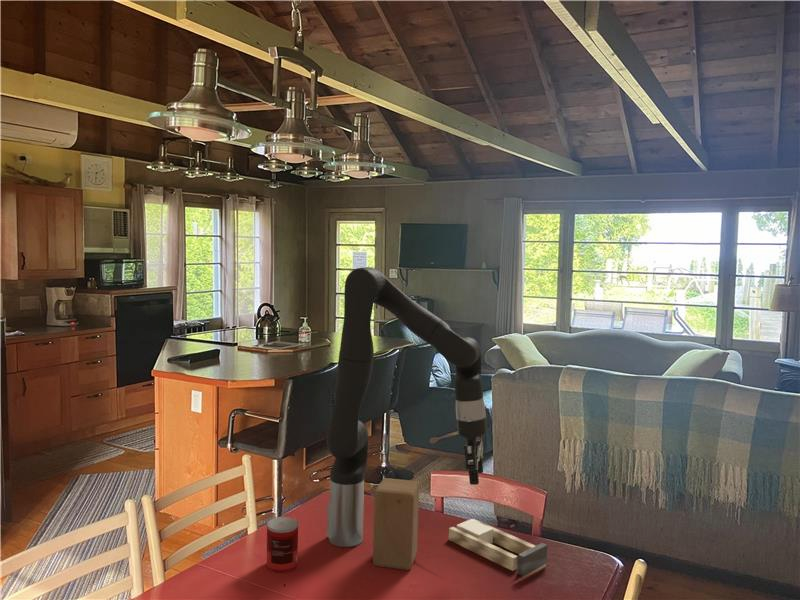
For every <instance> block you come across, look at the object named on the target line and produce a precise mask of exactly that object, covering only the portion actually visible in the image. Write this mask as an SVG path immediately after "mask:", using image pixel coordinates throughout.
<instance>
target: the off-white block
mask: <svg viewBox="0 0 800 600" xmlns="http://www.w3.org/2000/svg"><path fill="white" fill-rule="evenodd" d="M472 519H473V518H470V519H467V520H465V521H463V522H461V523H458V524H456V528H457V529H460V530H462V531H464V532H466V533H468V534H470V535H472V536H475V537H477V538H479V539H481V540H483V541H485V542H488V543H490V544H492V545H493V544H494V543H493V528H490V527H488V526H486V525H483V524H481V523H479V522H477V521H474V520H472Z"/></svg>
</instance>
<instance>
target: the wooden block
mask: <svg viewBox="0 0 800 600" xmlns="http://www.w3.org/2000/svg"><path fill="white" fill-rule="evenodd" d="M419 502H420V483H419V482H418V481H417V480H410V479H399V478H389V477H384V478H382V480H381V481H380V483H379V484H378V486H377V487H376V489H375V491H374V507H373V509H374V510H373V540H372V541H373V542H372V544H373V545H372V546H373V547H372V563H373V565H374V566H376V567H382V568H383V567H384V568H390V569H397V570H407V571H409V570H411V569H412V566H413V564H414V561H415V559H416V555H417V553H418V536H419V535H418V534H419V533H418V531H419Z"/></svg>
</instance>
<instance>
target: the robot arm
mask: <svg viewBox="0 0 800 600" xmlns="http://www.w3.org/2000/svg"><path fill="white" fill-rule="evenodd" d="M343 296H344V299H343V300H344V308H343V310H344V311H343V312H344V313H343V324H342V325H343V326H342V331H341V336H340V337H341V338H340V347H339V352H338V361H337V370H336V381H335V390H334V402H333V408H332V413H331V419H330V423H329V426H328V431H327V435H326V436H327V437H326V445H327V449H328V451H329V452H330V454H331V455H332V456H333V457H334V458H335V459H334V462H333V465H332V466H331V468H330V475H329V477H330V479H329V502H328V503H327V524H326V525H327V528H326V529H327V532H326V533H327V535H326V536H327V538H328V540H329V543H330V544H331V545H333V546H336V547H341V548H350V547H355V546H358V545H360V544H361V543H362V542H363V540H364V539H363V535H364V534H363V533H364V528H363V527H364V498H365V493H364V492H365V472H366V469H367V466H368V455H369V454H368V453H369V433H368V430H367V427H366V425H365V424H364V423H363V422H362V421H361V420H359V419H360V418H359V417H360V410H361V407H362V404H363V401H364V399H365V395H366V394H367V390H368V387H369V385H370V383H371V378H372V373H373V367H374V356H375V355H374V354H375V353H374V348H375V347H374V342H373V336H372V335H373V334H372V331H371V330H372V328H371V327H372V326H371V323H372V321H371V320H372V313H373V307H374V304H376V305H378V306H380V307H382V308H383V309H385V310H387V311H388V312H390V313H391V314H392V315H393V316H395V317H396V318H397V319H398V320H399V321H400V322H401V323H402V324H403V325H404V326H405V328H407V329H408V330H409V331H410V332H412V334H414V335H415V336H417V337H418V338H420V339H421V340H422V341H424V342H425V343H427V344H428V345H430V346H432V347H433V348H434V349H435V350H436V351H437V352H438V354H440V355H442V356H443V358H445V360H446V361H448V362H449V363H450V364H452V365H454V366H455V372H456V375H455V380H454V397H455V416H456V417H455V418H456V427H457V435H458V436H459V437H461V438H465V439H466V442H465V443H464V447H463V450H464V459H465V469H466V471H468V478H469V484H470V485H473V486H475V485H478V484H479V483H480V479H479V474H483V472H484V464H483V457H484V455H483V454H484V452H485V451H484V444H483V436H485V435H486V434H488V427H487V425H488V424H487V416H486V415H487V413H486V405H485V401H484V391H483V383H482V350H481V347H480V344H479V342H477V340H476V339H475V338H472V337H469V336H467V337H466V336H465V337H461V336H460V335H459V334H457V333H456V332H454V330H453V329H451V326H450V325H449V324H448V323H447V322H446V321H444V320H442V319H441V318H439V317H438V316H436V315H435V314H434V313H432V312H431V311H429V310H428V309H426V308H425V307H423V306H421V305H420V304H419V303H417V302H416V301H415V300H413V299H412V298H410V297H409V296H408V295H406V294H405V293H404V292H403V291H401V290H400V289H399V288H398V287H397V286H395V284H393V283H392V282H391V281H390V280H389V278H387V277H386V276H385V275H384V274H383V273H382V272H381V271H379V270H378V269H377V268H374V267H368V266H367V267H357V268H355V269H353V270H351V271H350V273H349V274H348V275H347V277H346V279H345V281H344V295H343ZM471 462H473V464H471Z"/></svg>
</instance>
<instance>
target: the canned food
mask: <svg viewBox="0 0 800 600" xmlns="http://www.w3.org/2000/svg"><path fill="white" fill-rule="evenodd" d="M266 524H267V526H266V566H267V568H268V569H269V570H270V571H271V572H274V573H277V572H278V573H281V574H282V573H288V572H289V573H290V572H292V571H293V570H294V569H295V568H297V565H298V555H299V554H298V553H299V551H298V550H299V545H298V544H299V543H298V542H299V523H298V520H296V519H295V518H292V517H288V516H279V517H275V518H271V519H270V520H269V521H268V522H267V523H266ZM278 573H277V574H278Z"/></svg>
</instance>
